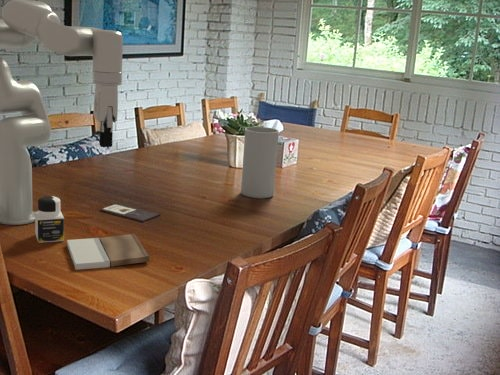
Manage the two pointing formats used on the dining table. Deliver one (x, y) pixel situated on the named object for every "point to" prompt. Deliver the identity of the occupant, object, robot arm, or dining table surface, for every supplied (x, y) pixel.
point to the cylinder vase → (259, 162)
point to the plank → (124, 250)
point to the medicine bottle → (49, 220)
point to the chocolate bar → (130, 212)
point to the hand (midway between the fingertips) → (105, 146)
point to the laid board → (88, 253)
